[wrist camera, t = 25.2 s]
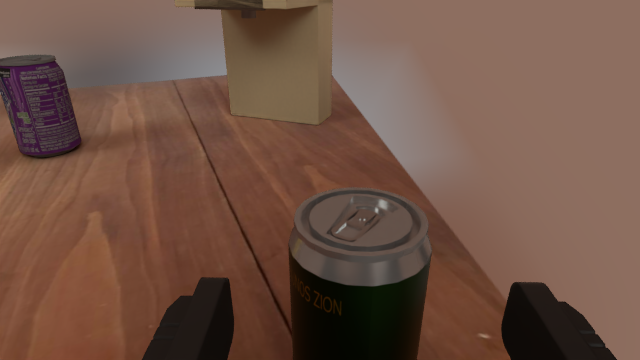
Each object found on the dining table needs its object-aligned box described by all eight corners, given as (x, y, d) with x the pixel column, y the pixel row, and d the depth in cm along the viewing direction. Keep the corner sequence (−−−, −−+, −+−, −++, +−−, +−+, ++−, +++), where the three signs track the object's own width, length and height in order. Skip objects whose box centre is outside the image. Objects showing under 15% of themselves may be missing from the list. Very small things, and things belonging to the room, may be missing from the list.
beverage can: (40, 141, 59) (13, 54, 54) (91, 140, 59) (69, 53, 54) (9, 161, 53) (-25, 64, 47) (67, 160, 53) (40, 63, 48)
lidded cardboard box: (290, 147, 57) (285, -12, 48) (192, 133, 62) (172, -12, 54) (338, 109, 74) (341, -14, 66) (259, 100, 79) (251, -14, 71)
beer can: (377, 513, 17) (402, 281, 12) (273, 445, 20) (257, 229, 15) (421, 410, 21) (453, 205, 16) (330, 365, 24) (333, 174, 19)
